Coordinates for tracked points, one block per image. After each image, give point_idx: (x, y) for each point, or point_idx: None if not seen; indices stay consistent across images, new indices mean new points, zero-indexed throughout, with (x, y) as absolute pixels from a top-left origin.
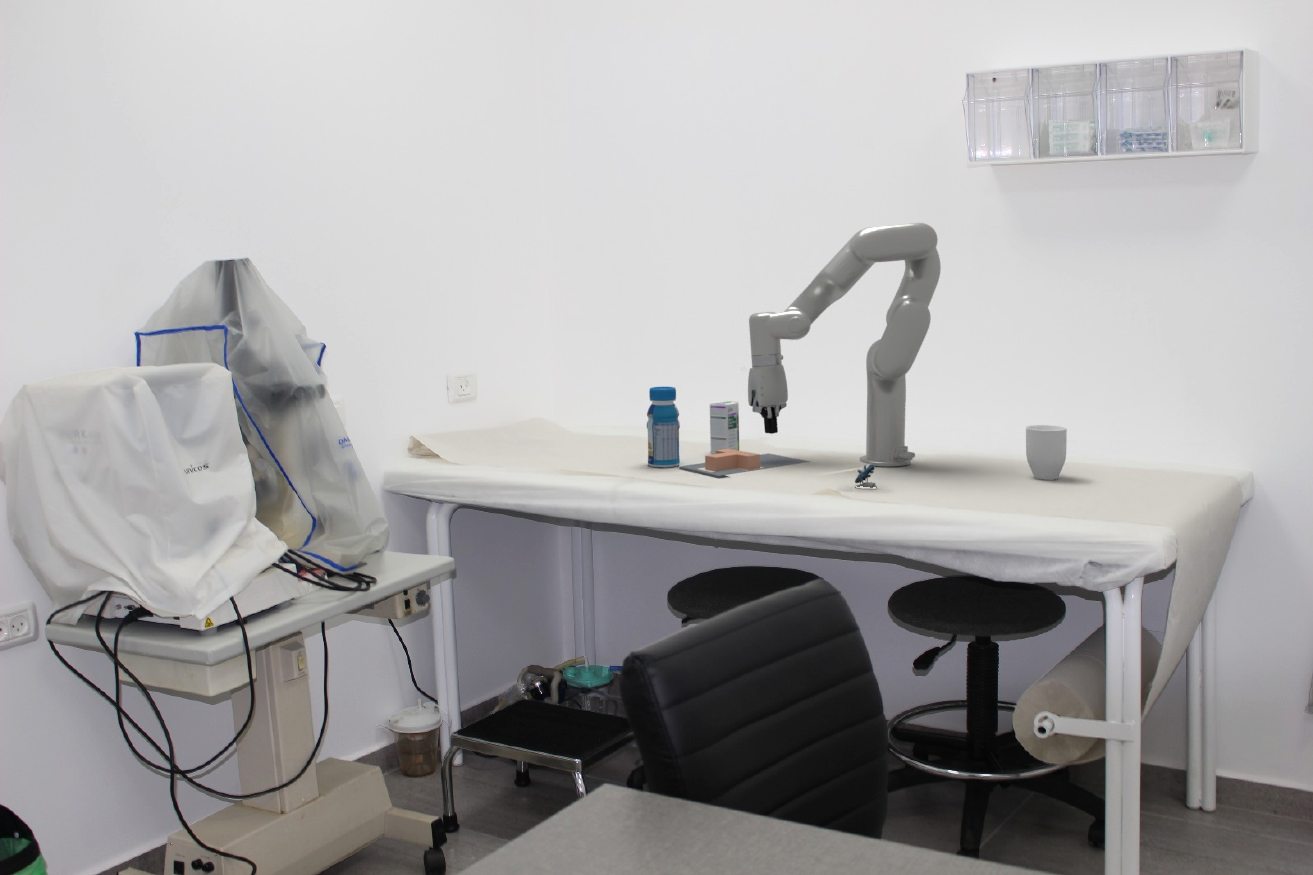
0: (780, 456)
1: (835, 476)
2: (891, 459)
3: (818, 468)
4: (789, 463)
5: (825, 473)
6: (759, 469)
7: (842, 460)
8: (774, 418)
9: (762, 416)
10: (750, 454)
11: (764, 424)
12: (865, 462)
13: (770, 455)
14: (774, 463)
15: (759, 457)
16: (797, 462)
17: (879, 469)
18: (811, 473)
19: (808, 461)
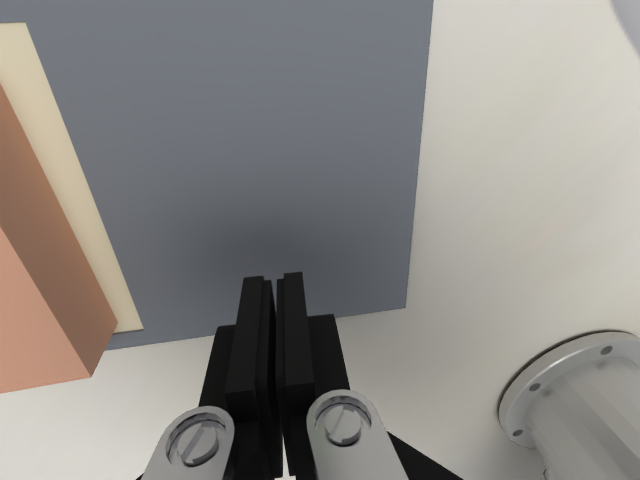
0: (402, 130)
1: None
2: (539, 449)
3: (352, 375)
4: None
5: None
6: None
7: (539, 303)
8: (294, 474)
9: (168, 448)
10: (30, 361)
11: (210, 362)
12: (506, 401)
13: (383, 61)
14: (241, 276)
15: (93, 365)
16: (344, 303)
17: (471, 441)
18: None
19: (396, 307)
